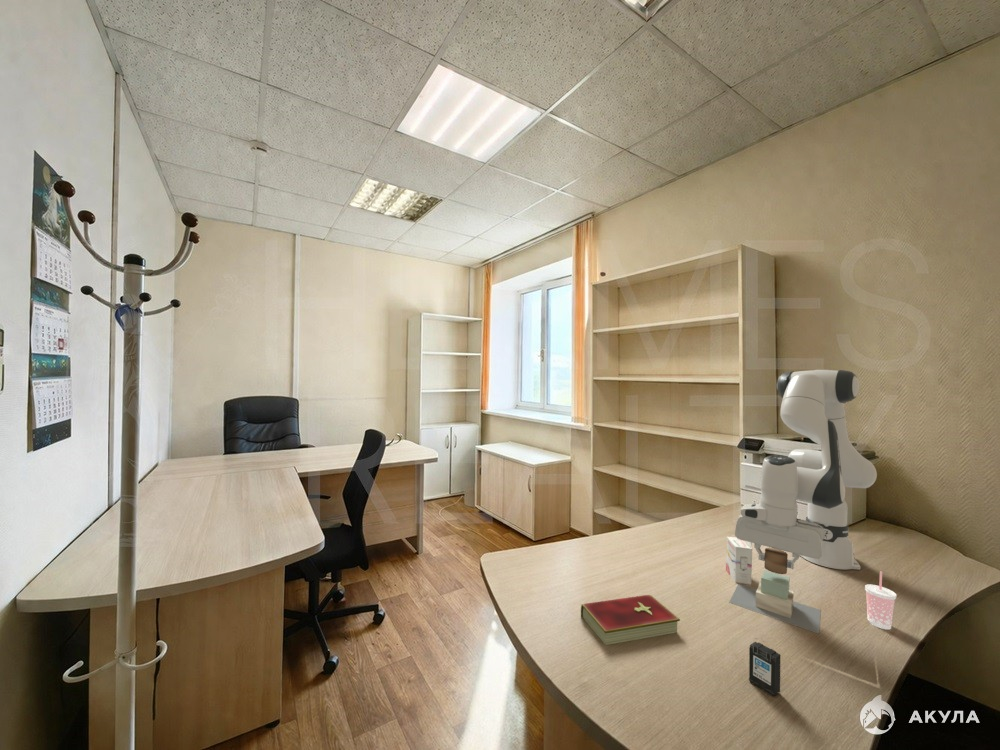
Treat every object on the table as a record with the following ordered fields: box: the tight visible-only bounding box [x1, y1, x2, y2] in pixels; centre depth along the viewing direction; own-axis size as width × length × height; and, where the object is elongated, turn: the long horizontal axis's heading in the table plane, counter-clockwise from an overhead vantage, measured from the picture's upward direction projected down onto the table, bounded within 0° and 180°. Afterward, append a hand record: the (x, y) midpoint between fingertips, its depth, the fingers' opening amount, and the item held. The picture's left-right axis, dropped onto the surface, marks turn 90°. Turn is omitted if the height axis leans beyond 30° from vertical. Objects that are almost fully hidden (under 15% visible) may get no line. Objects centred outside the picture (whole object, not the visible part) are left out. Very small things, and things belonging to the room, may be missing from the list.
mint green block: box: [760, 569, 791, 600], centre depth 112 cm, size 6×6×4 cm
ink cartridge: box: [748, 641, 781, 697], centre depth 83 cm, size 5×2×8 cm, turn 32°
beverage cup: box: [864, 570, 897, 630], centre depth 107 cm, size 6×6×14 cm
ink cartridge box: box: [725, 536, 753, 585], centre depth 129 cm, size 9×5×15 cm, turn 168°
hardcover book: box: [580, 594, 681, 646], centre depth 102 cm, size 12×21×4 cm, turn 106°
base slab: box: [756, 580, 795, 618], centre depth 112 cm, size 8×8×4 cm
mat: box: [728, 583, 822, 635], centre depth 112 cm, size 14×20×1 cm
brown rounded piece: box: [763, 547, 789, 575], centre depth 112 cm, size 5×5×5 cm
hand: (775, 563), depth 112 cm, fingers closed on brown rounded piece, 5 cm apart
